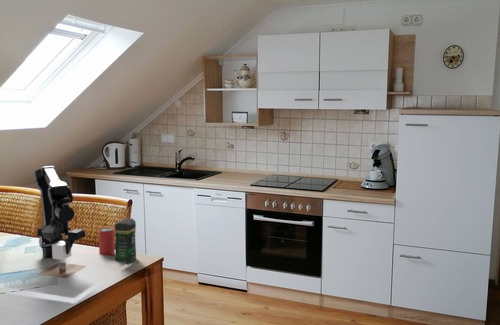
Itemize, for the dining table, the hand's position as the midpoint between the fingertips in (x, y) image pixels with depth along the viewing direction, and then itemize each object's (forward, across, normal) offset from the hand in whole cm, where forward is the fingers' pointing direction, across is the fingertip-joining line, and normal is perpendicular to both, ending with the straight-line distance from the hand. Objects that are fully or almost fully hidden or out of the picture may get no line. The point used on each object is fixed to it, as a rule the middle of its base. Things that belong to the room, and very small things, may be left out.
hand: (62, 253), depth 182 cm
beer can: (+9, +5, +24) cm, 26 cm away
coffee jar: (+9, +17, +20) cm, 28 cm away
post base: (+8, 0, 0) cm, 8 cm away
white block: (+2, 0, 0) cm, 2 cm away
